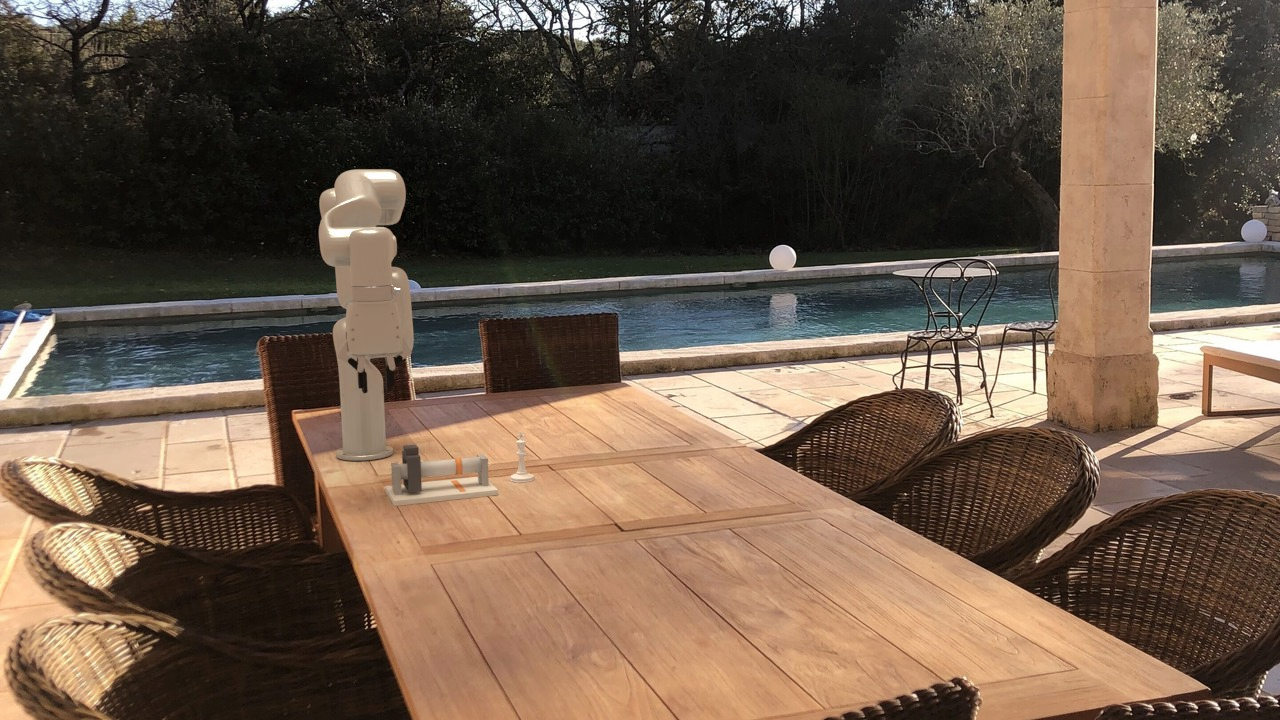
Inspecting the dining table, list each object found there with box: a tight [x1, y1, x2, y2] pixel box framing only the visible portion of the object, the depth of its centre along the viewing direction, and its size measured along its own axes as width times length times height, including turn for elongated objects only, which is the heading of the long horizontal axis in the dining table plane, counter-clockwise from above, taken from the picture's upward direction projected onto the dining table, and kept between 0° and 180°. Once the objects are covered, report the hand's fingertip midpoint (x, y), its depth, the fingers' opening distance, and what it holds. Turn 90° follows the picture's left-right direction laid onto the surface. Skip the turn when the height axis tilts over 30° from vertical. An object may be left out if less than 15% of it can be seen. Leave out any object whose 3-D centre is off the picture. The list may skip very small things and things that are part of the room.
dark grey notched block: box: [401, 444, 422, 493], centre depth 217 cm, size 2×7×8 cm, turn 21°
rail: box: [384, 454, 499, 507], centre depth 220 cm, size 20×12×7 cm, turn 111°
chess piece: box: [509, 431, 535, 484], centre depth 229 cm, size 5×5×10 cm
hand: (376, 390), depth 213 cm, fingers open, 3 cm apart
